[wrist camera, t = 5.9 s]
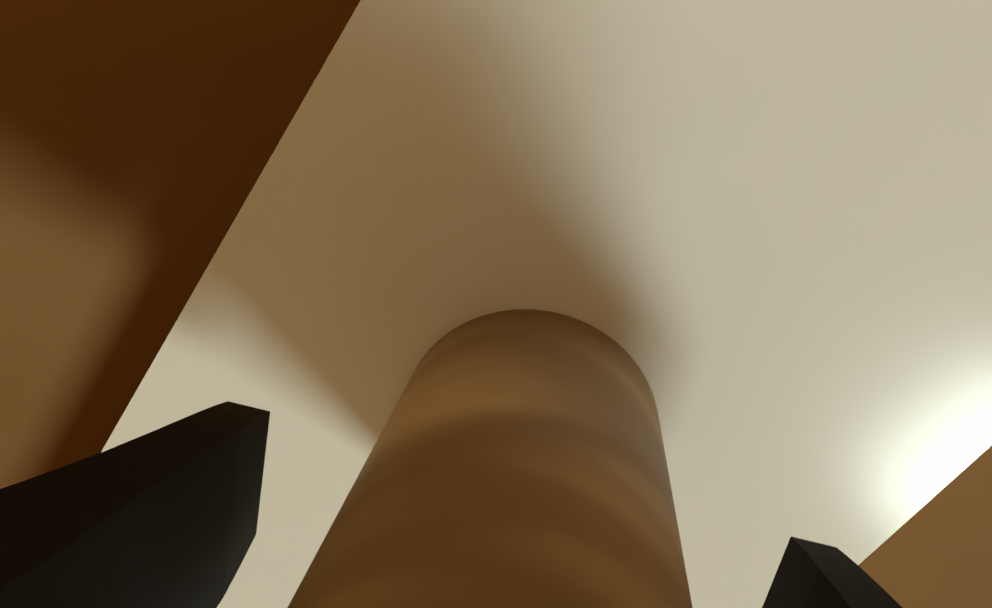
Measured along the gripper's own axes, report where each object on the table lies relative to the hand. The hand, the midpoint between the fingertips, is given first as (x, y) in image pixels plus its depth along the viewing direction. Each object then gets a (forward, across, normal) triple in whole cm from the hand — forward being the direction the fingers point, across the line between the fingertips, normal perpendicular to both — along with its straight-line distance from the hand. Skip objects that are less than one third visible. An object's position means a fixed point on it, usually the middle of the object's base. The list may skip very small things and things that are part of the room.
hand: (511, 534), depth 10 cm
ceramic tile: (+4, 0, 0) cm, 4 cm away
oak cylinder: (+3, 0, 0) cm, 3 cm away
